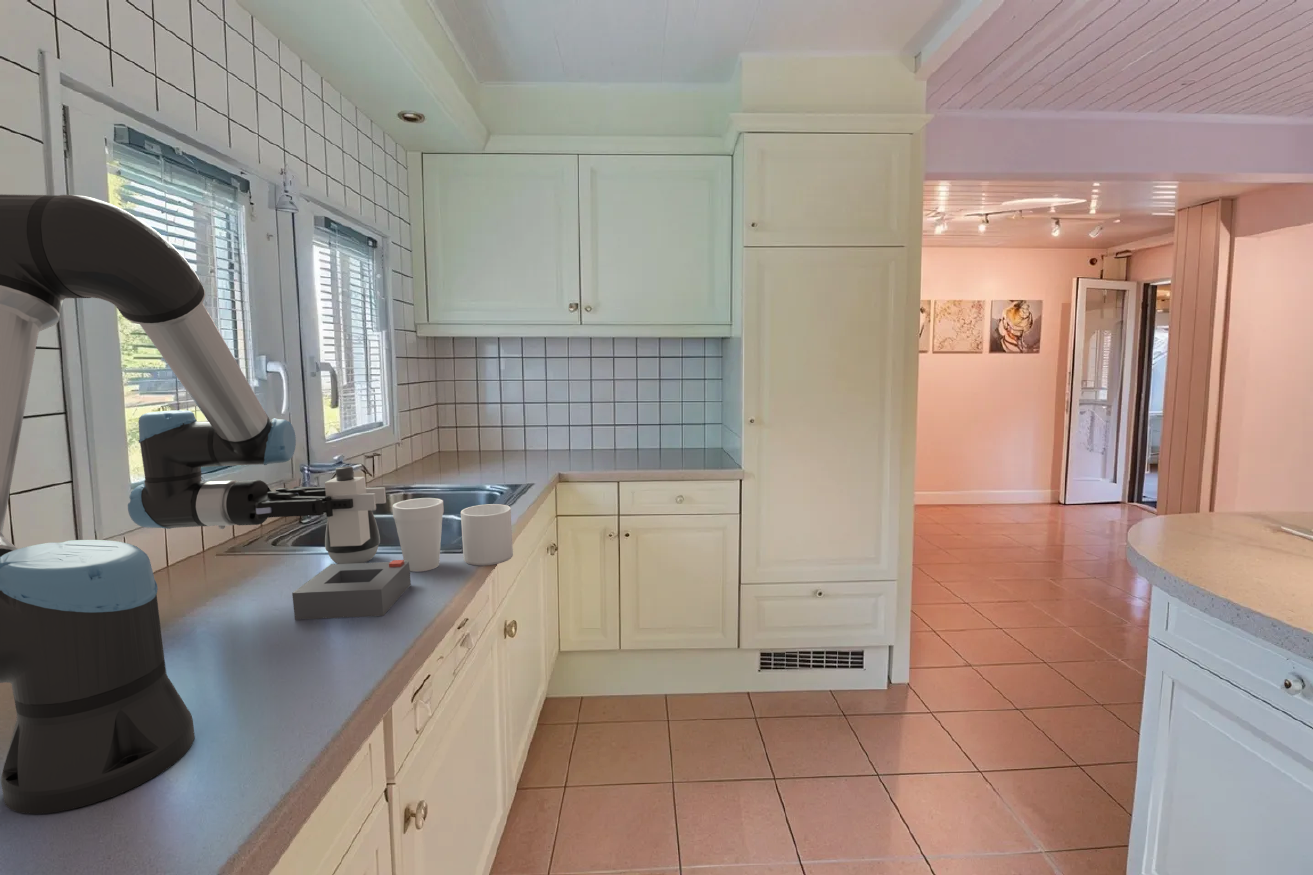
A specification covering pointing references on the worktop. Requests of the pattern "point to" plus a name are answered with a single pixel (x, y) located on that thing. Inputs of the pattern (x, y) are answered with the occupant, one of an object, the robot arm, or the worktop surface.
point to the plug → (347, 524)
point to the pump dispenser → (355, 552)
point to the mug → (486, 534)
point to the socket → (352, 590)
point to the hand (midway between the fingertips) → (379, 498)
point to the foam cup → (419, 531)
